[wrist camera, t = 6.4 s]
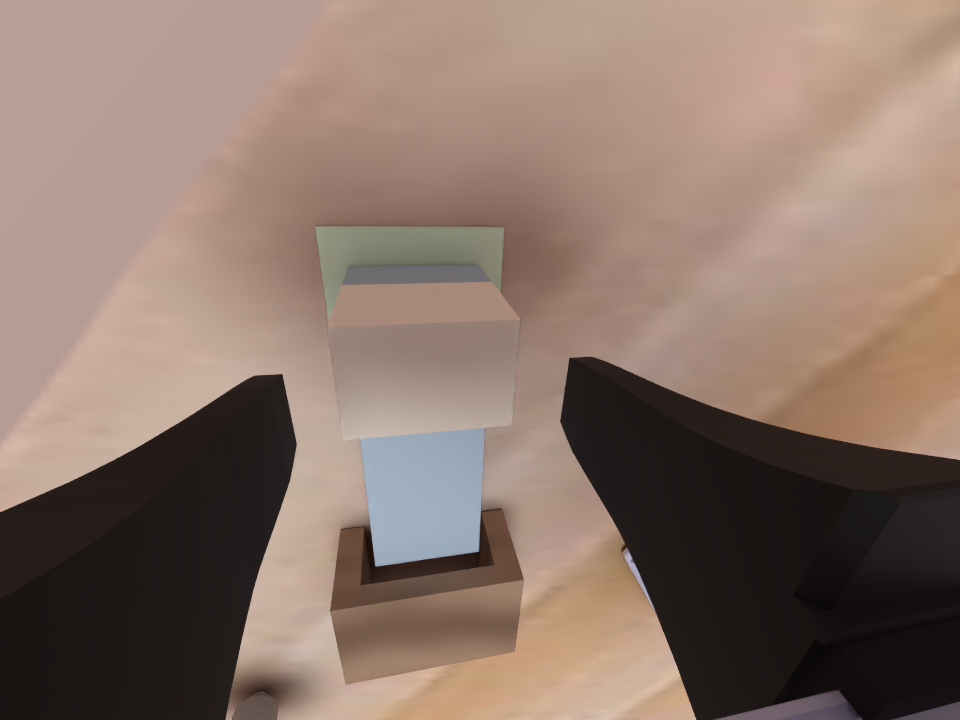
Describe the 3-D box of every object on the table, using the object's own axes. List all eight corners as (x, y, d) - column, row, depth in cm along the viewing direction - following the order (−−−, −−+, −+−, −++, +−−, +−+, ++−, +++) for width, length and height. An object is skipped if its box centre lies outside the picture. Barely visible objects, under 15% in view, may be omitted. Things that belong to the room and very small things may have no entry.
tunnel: (496, 577, 26) (514, 651, 22) (352, 600, 25) (345, 684, 21) (501, 509, 23) (523, 579, 20) (340, 529, 22) (330, 611, 18)
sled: (470, 514, 23) (494, 624, 17) (376, 526, 22) (372, 646, 16) (478, 264, 16) (520, 319, 11) (348, 266, 15) (326, 327, 10)
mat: (493, 380, 19) (495, 382, 19) (339, 390, 18) (338, 393, 18) (502, 226, 16) (504, 227, 16) (316, 225, 15) (314, 226, 15)
